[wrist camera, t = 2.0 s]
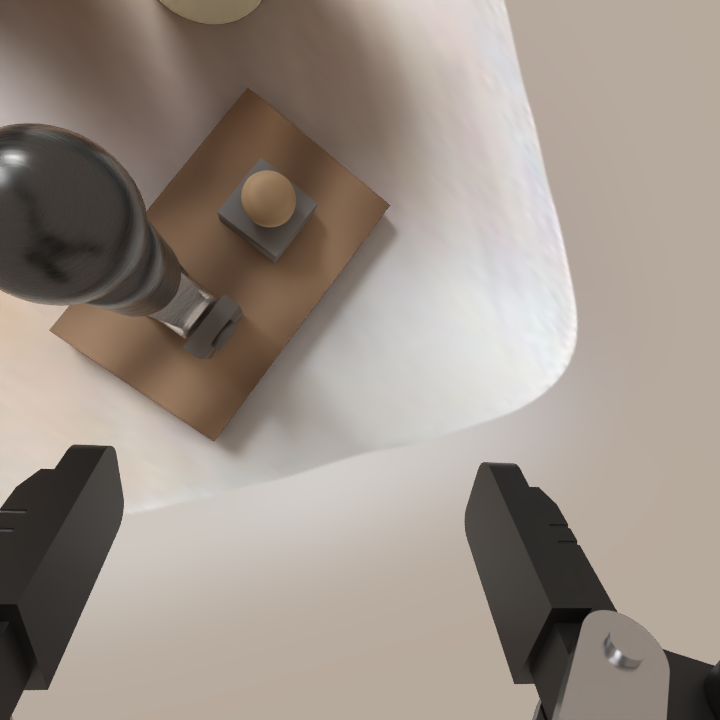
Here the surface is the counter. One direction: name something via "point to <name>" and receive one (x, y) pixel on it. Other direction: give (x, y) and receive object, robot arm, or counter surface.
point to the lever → (85, 232)
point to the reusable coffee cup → (212, 9)
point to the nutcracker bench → (235, 264)
